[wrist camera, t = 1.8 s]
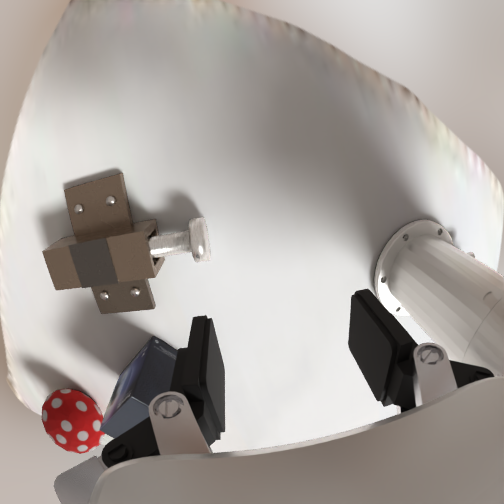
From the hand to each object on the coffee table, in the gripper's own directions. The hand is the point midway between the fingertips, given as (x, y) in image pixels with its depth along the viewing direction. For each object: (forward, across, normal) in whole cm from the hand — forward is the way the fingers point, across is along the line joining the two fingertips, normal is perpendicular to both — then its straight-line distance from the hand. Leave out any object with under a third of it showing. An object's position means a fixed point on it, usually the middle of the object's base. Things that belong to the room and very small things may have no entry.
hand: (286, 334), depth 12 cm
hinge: (+18, +16, 0) cm, 23 cm away
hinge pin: (+18, +12, 0) cm, 21 cm away
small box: (+18, +16, +17) cm, 29 cm away
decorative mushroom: (+18, +34, +26) cm, 46 cm away
